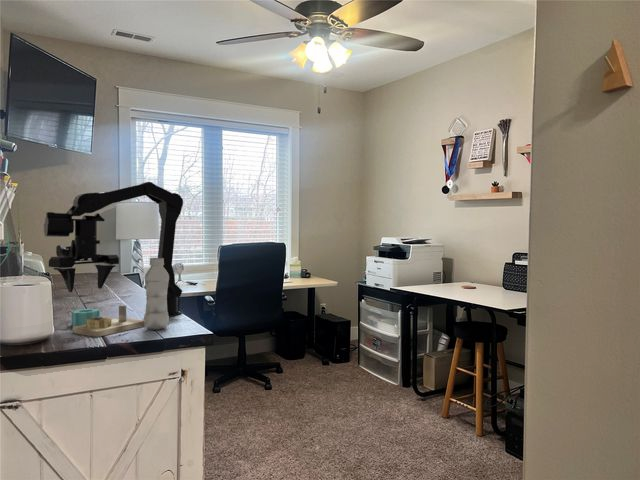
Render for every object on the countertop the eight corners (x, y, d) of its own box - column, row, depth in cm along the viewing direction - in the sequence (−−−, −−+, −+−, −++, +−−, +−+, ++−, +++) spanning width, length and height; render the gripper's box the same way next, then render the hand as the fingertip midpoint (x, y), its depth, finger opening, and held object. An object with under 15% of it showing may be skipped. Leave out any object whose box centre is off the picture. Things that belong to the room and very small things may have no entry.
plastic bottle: (143, 327, 130) (143, 257, 129) (168, 325, 132) (168, 257, 132) (144, 332, 124) (144, 259, 123) (170, 330, 126) (170, 259, 126)
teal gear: (89, 320, 138) (89, 307, 138) (105, 323, 134) (105, 310, 134) (66, 325, 131) (66, 311, 131) (82, 328, 128) (82, 314, 128)
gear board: (123, 321, 137) (123, 302, 137) (146, 325, 132) (146, 305, 132) (72, 332, 123) (72, 310, 123) (96, 337, 118) (96, 314, 118)
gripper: (96, 235, 144) (96, 284, 144) (36, 236, 128) (36, 291, 128) (120, 236, 139) (120, 287, 139) (61, 237, 122) (61, 295, 123)
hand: (85, 290), depth 132 cm, fingers open, 9 cm apart
